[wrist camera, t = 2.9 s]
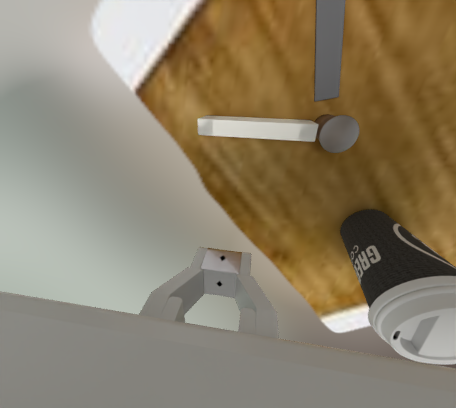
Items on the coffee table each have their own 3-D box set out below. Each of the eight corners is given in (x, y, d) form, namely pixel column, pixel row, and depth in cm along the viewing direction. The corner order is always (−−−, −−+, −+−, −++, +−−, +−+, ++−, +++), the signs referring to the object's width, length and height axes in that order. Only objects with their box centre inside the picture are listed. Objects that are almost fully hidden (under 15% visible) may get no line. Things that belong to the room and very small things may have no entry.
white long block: (310, 120, 22) (318, 124, 19) (307, 134, 23) (314, 141, 20) (206, 115, 24) (197, 118, 20) (207, 129, 25) (198, 134, 21)
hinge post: (341, 108, 22) (361, 112, 18) (339, 139, 24) (356, 150, 19) (309, 114, 23) (320, 119, 18) (309, 144, 24) (319, 155, 20)
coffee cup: (350, 191, 26) (435, 284, 13) (420, 211, 26) (575, 325, 13) (317, 243, 31) (356, 349, 18) (376, 260, 31) (458, 379, 18)
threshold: (345, -17, 17) (346, -19, 17) (337, 96, 22) (338, 96, 21) (316, -8, 18) (317, -10, 18) (314, 101, 22) (315, 101, 22)
